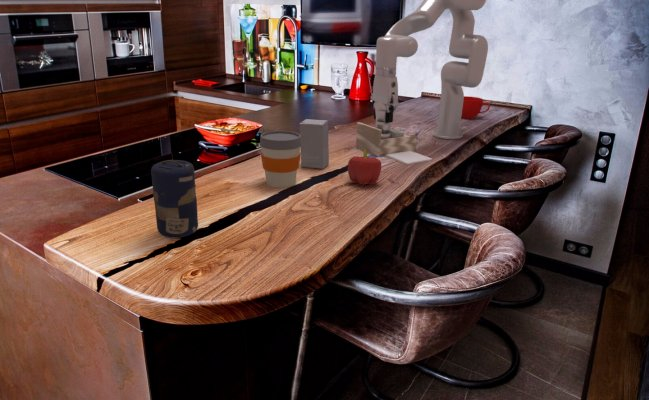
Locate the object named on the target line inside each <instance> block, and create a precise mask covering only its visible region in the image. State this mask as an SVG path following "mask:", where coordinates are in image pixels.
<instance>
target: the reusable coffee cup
mask: <svg viewBox="0 0 649 400" xmlns="http://www.w3.org/2000/svg"><path fill="white" fill-rule="evenodd" d="M301 145H302V144H301V135H300V133H298V132H296V131H288V130H273V131H266V132H263V133H261V134H260V139H259V147H261V153H260V156H261V164H262V169H263V170H264V173H265V182H266V185H268V186H269V187H272V188H277V189H278V188H280V189H282V188H284V189H285V188H289V187H293V186H294V185H296V180H297V173H298V170H299V167H300V164H301Z"/></svg>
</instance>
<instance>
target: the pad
mask: <svg viewBox="0 0 649 400" xmlns="http://www.w3.org/2000/svg"><path fill="white" fill-rule="evenodd" d="M385 157H387V158H389V159H392V160H394V161H397V162H399V163H402V164H404V165H407V166H408V165H413V164H414V165H415V164H419V163H425V162H430V161H433V158H432V157H428V156H426V155H424V154H420V153H418V152H416V151H406V152H400V153H393V154H387V155H385Z"/></svg>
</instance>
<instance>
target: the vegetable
mask: <svg viewBox="0 0 649 400" xmlns="http://www.w3.org/2000/svg"><path fill="white" fill-rule="evenodd" d="M362 151H363V156H355V155H354V156H352V157H350V159H349V160H348V163H347V173H348V178H349V179H350V181H351V182H352V183H354V184H360V185H366V184H367V185H374V184H375V183H377V181H378V180H379V178H380V176H381V173H382V162H381V160H380V159H379V158H376V157H375V156H374V157H368V152H367V150H366V149H363V150H362Z"/></svg>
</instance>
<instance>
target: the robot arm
mask: <svg viewBox="0 0 649 400" xmlns="http://www.w3.org/2000/svg"><path fill="white" fill-rule="evenodd" d="M486 1H487V0H422V2H421V3H420V5H419V6H418V7H417V8H416V10H415V11H413V12H411V13H410V14H409V13H408V15H406V16H404V17H403V18H401V19H400V20H398V21H397V22H396V23H395V24H393V25H392V26H391V27H390V29H388V31H387V32H386V34H385V35H384V36H380V37H378V38H377V40H376V48H375V49H376V52H375V55H376V56H375V71H374V72H375V75H374V80H373V87H372V94H371V95H370V99H371V102H372V105H373V106H372V108H373V111H374V112H373V119H374V120H376V112H375V105H376V103H377V102H378V101H380V102H382V103H383V104H386V109H387V112H386V116H385V122H386V123H390V124H391V123H393V121H394V112H395V110H396V109H397V107H398V106H399V105H400V103H399V100H398V99H399V84H398V83H399V82H398V76H397V64H398V62H397V61H398V58H410V57H413V56H414V55H415V54H416V53H417V51H418V48H419V43H418V41H417V39H416V38H414V37H413V36H411V35H413V34H415V33H418V32H423V31H425V30H428V29H430V28H431V27H433V26H434V25H435V24H436V22H437V21H438V19H439V18H440V17H441V16H442V14H443V13H444V12H445V10H449V11H450V13H451V16H452V29H451V34H450V40H449V47H448V52H449V54H450V56H451V57H453V58H457V59H466V60H468V62H466V61H465V62H464V61H457V60H451V61H448V62H446V63H444V65H443V66H442V67H441V70H440V81H441V83H440V84H441V92H440V100H439V108H438V109H439V110H438V116H437V119H438V120H437V125H436V127H437V128H436V130H435V131H433V132H432V135H433V136H434V137H435V138H439V139H441V140H442V139H443V140H460V139H462V138H463V137H464V136H463V135H464V134H463V133H462V132H463V131H467V129H468V127H467V126H466V125H464V126H463V125H461V122H462V118H461V115H462V108H463V100H464V96H465V94H464V89H463V87H464V88H471V89H472V88H476V87H478V86H479V85H480V84H481V82H482V80H483V76H484V73H485V67H486V64H487V63H486V62H487V57H488V52H489V43H488V41H487V38H486V37H485V36H483V35H481V34H474V31H475V25H476V23H475V22H476V21H475V20H476V19H475V16H474V14H473V11H479V10H481V9H482V8H483V7H484V6H485V4H486ZM389 105H391V107H390V108H389Z"/></svg>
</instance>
